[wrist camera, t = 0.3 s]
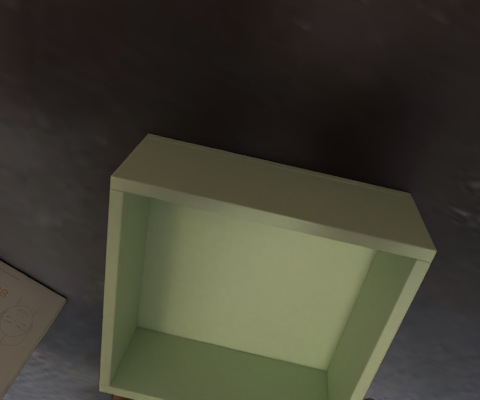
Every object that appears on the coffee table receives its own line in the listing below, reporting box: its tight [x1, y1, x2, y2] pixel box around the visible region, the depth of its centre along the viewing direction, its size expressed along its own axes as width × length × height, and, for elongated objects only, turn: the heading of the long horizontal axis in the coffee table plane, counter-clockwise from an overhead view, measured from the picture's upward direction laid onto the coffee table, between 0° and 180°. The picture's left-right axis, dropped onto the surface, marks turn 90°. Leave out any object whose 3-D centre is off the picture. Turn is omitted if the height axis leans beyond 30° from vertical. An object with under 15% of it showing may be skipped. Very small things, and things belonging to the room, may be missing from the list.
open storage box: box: [99, 134, 436, 400], centre depth 23 cm, size 13×13×5 cm
